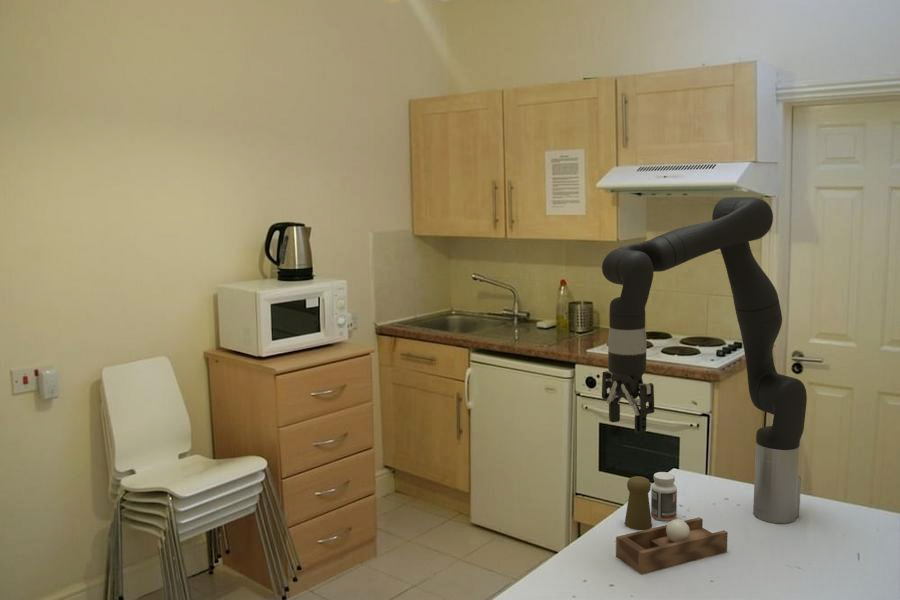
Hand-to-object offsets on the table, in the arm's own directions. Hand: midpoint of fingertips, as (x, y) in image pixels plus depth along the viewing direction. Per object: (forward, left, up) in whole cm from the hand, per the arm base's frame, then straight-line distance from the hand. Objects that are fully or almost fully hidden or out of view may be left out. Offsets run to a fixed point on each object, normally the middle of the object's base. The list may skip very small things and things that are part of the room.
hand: (627, 426), depth 161 cm
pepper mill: (-11, -11, -28) cm, 32 cm away
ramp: (-8, +4, -27) cm, 29 cm away
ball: (-10, +4, -23) cm, 25 cm away
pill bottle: (-19, -12, -28) cm, 36 cm away
